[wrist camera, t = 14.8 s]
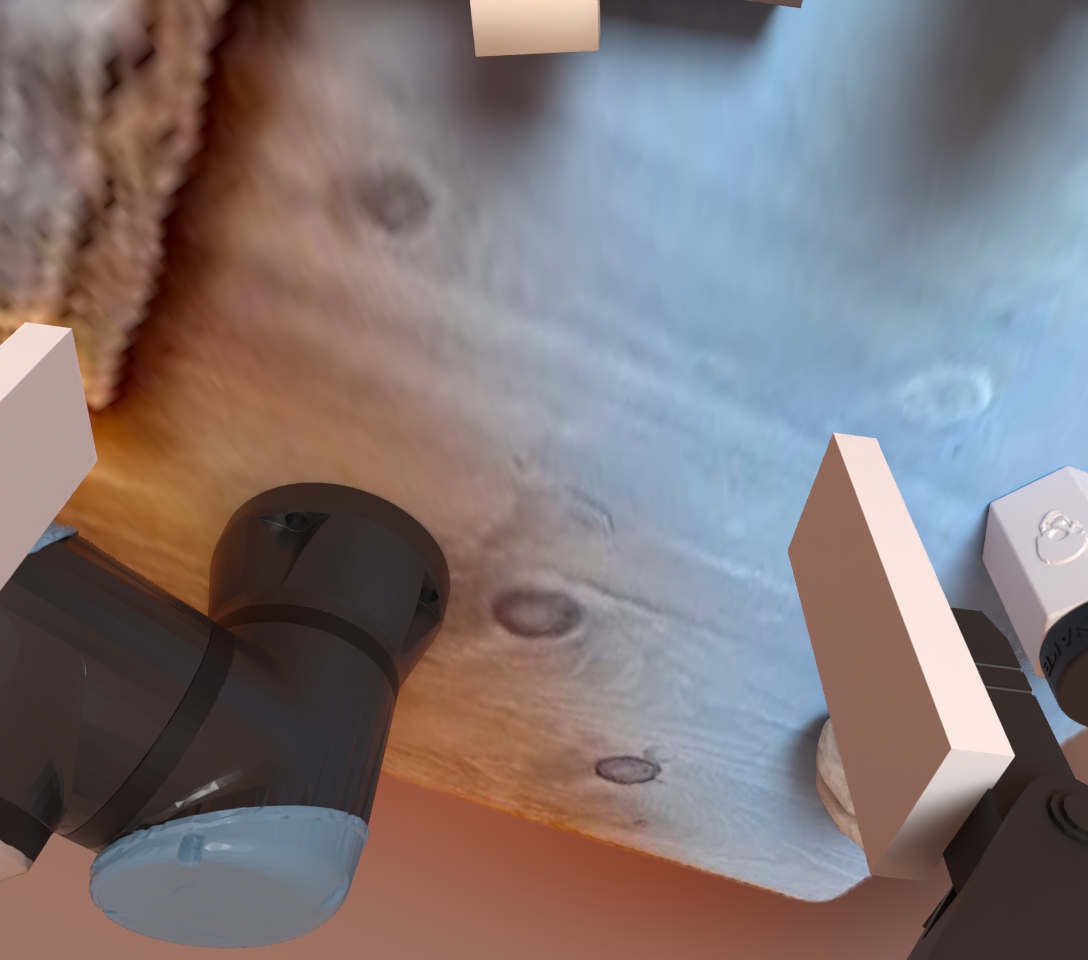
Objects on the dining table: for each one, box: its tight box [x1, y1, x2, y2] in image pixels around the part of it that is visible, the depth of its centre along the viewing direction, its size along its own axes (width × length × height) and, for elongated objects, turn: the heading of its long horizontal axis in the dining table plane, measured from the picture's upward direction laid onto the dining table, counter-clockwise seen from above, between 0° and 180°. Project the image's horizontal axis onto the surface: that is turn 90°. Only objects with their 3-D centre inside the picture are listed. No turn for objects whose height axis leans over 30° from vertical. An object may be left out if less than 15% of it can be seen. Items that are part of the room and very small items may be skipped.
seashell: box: [816, 718, 865, 852], centre depth 63 cm, size 10×15×10 cm
